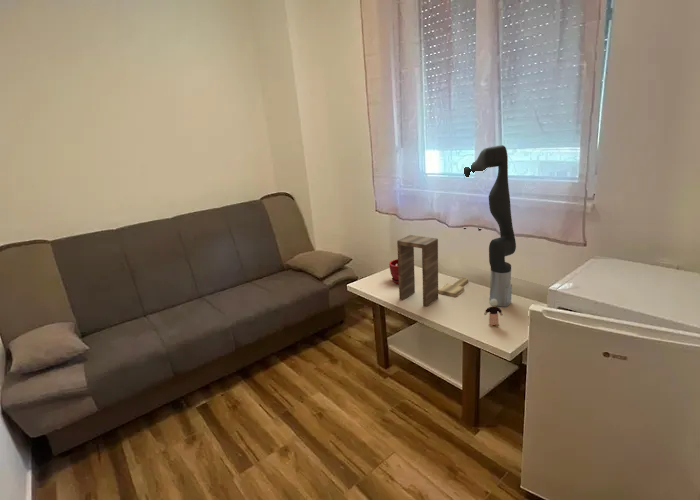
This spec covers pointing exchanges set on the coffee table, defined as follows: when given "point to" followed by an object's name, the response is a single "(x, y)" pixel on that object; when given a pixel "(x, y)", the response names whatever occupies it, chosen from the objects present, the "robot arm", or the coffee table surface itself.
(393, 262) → the plant pot
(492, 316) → the grandmother figurine
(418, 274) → the coffee table surface
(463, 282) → the paddle
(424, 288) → the shelf stand
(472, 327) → the coffee table surface
